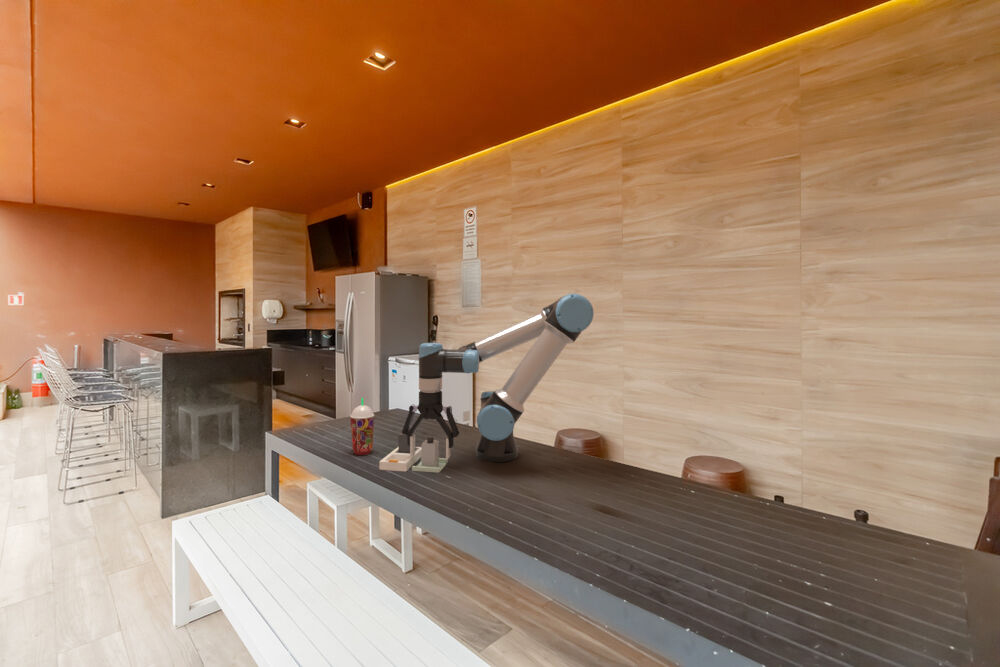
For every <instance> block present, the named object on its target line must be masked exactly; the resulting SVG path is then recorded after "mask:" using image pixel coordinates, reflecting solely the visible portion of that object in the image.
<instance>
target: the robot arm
mask: <svg viewBox="0 0 1000 667" xmlns="http://www.w3.org/2000/svg"><path fill="white" fill-rule="evenodd" d="M593 319H594V308H593V304H592V303H591V302H590V300H589V299H588V298H586V297H585V296H583V295H581V294H578V293H568V294H565V295H563V296H562V297H560V298H558V299H557V300H556V301H554V302H553V303H550V304H548V306H545V307H543V308H541V309H540V311H539V312H538V313H535V314H534V315H531V316H529V317H527V318H525V319H523V320H521V321H519V322H516V323H513V324H511V325H509V326H507V327H504V328H502V329H500V330H497V331H496V332H493V333H491V334H488V335H486V336H483V337H482V338H479V339H477V340H475V341H473V342H470V343H467V344H466V345H462V346H460V347H458V349H445V348H443V344H442V343H439V342H423V343H421V344H420V345H419V350H418V351H419V352H418V390H419V391H418V405H415V404H411V405H410V406H409V407H408V414H407V416H406V419H405V422H404V425H403V427H402V430H401V432H402V434H405V435H407V444H408V446H410V456H411V457H412V456H414V455H415V435H412V434H413V433H414V432H416V430H417V429H418V427H419V425H420V424H421V423H422V421H423V420H433V421H434V420H436V422H437V423H438V425H439V426H440V427H441V429H442V430H443V432H444V433H445V435H446V439H445V458H446V459H448V460H449V459H450V458H451V449H453V447H454V438H457V437H458V436H459V435H460V432H459V428H458V425H457V423H456V420H455V417H454V415H453V406H451V405H449V406H443V391H442V389H443V373H451V374H453V373H455V374H458V373H459V374H476V373H478V372H479V369H480V363H482V362H484V361H486V360H488V359H489V360H490V358H491V359H492V357H495V356H497V355H500V354H502V353H505V352H507V351H510V350H512V349H514V348H516V347H518V346H521V345H523V344H526V343H528V342H530V341H532V340H535V339H536V340H535V342H534V343H533V344H532V346H531V348H530V349H529V350H528V351H527V353H526V354H525V356H524V357H523V358H522V359H521V361H520V363H519V364H518V365H517V367H516V368H515V369H514V371H513V372H512V373H511V375H510V376H509V377H508V379H507V380H506V382H505V383H504V385H503V386H502V387H501V388H497V389H494V391H493V390H492V391H489V390H488V391H486V390H485V391H483V392H482V393H481V394H480V410H479V412H478V413H477V416H476V424H477V428H478V431H479V433H480V435H479V438H478V441H477V443H476V447H475V457H476V458H478V459H480V460H481V461H486V462H487V461H488V462H494V463H505V462H510V461H513V460H515V459H517V458H518V456H519V449H518V445H517V442H516V439H515V436H514V428H515V425H516V423H517V421H519V419H520V418H521V416H522V415H523V413H524V412H525V408H524V405H525V402H527V400H528V398H529V397H530V395H531V394H532V393H533V391H534V390H535V389H536V388H537V386H538V385H539V383H540V381H542V379H544V376H545V375H546V373H547V372H548V371H549V369H550V368H551V366H553V364H554V362H555V361H556V359H558V357H559V356H560V354H561V353H562V351H563V350H564V349H565V347H566V346H567V345H569V344H573V343H575V342H576V340H577V339H578V337H579V336H580V335H581V334H582V332H583V331H584V330H586V329H587V328H589V327H590V325H591V323H592V321H593ZM417 411H418V413H420V414H419V416H418V417H417V419H416V420H415V422H414V423H413V425H412V426H411V423H412V421H413V419H414V416H415V413H416V412H417ZM442 412H444V414H445V415H446V419H447V420H448V423H447V421H446V420H445V419H444V416H443V414H442ZM448 424H449V425H448ZM410 426H411V428H410ZM409 428H410V430H408V429H409Z"/></svg>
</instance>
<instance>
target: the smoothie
mask: <svg viewBox="0 0 1000 667" xmlns="http://www.w3.org/2000/svg"><path fill="white" fill-rule="evenodd" d="M349 416H350V427H351V428H350V429H351V444H352V451H353V453H354V455H357V456H366V455H369V454H371V453H372V450H373V444H374V441H373V440H374V430H375V429H374V426H375V425H374V424H375V413H374V412H373V409H372V408H371V407H370V406H368V405H366V404H364V397H361V403H360V404H359V405H358V406H356V407H355V408H353V410H352V411H351V414H350V415H349Z"/></svg>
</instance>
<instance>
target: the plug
mask: <svg viewBox="0 0 1000 667" xmlns="http://www.w3.org/2000/svg"><path fill="white" fill-rule="evenodd" d="M421 447H422V464H421V466H426V467H437V466H438V465H439V458H440V440H438V439H437V440H436V439H434V436H428V437H427V438H426V439H425V440H424V441H423V442H422V443H421Z"/></svg>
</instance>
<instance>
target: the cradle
mask: <svg viewBox="0 0 1000 667" xmlns="http://www.w3.org/2000/svg"><path fill="white" fill-rule="evenodd" d="M448 461H449V459H446V457H445V458H444V457H439V465H438V466H437V467H426V466H421V464H422V457H421V458H420V462H418V463H417V465H412V466H411V471H412V472H425V473H440V472H441V471H442V470H443V469H444V468H445V466H446V465H447V464H448Z"/></svg>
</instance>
